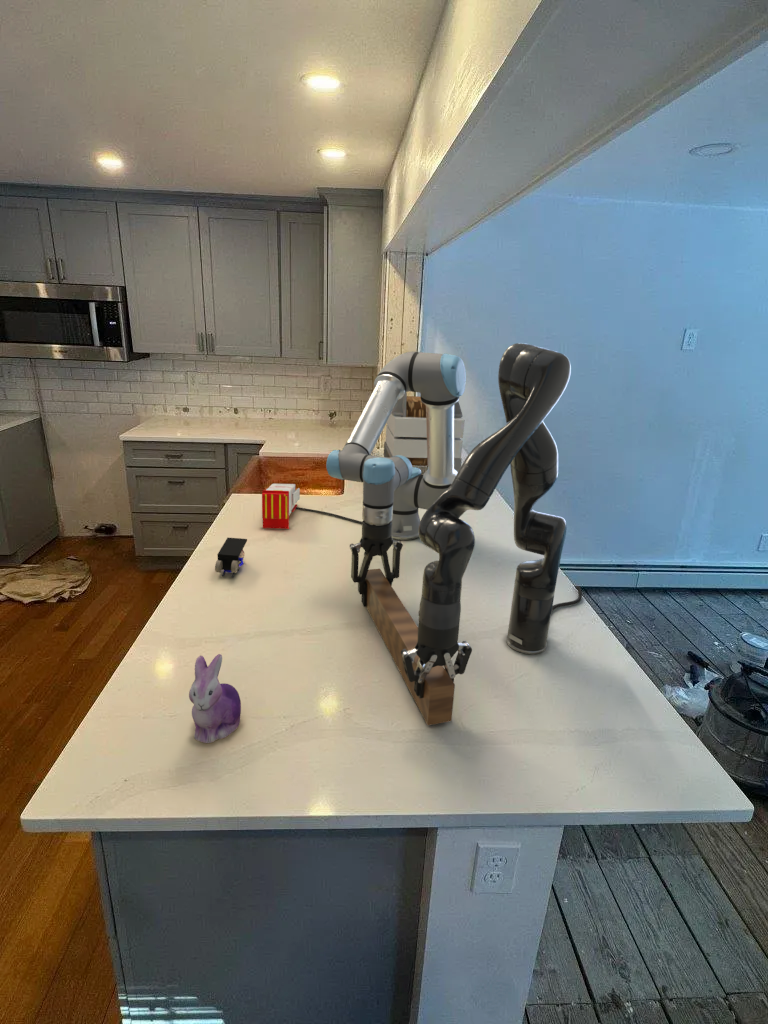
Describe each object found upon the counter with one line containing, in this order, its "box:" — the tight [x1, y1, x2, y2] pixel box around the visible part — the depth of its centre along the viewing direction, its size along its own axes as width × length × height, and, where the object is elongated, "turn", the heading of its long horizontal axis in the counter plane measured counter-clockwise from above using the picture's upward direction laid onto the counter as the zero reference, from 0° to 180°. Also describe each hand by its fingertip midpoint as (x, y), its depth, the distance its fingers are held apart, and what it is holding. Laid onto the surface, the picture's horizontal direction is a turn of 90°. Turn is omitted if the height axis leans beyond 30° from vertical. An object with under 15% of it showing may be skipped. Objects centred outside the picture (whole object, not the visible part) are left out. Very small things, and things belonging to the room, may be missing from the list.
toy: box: [261, 483, 301, 530], centre depth 210 cm, size 12×13×30 cm
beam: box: [365, 568, 456, 726], centre depth 129 cm, size 50×5×8 cm, turn 17°
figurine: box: [188, 653, 242, 744], centre depth 103 cm, size 9×10×15 cm
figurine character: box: [214, 537, 248, 578], centre depth 166 cm, size 7×8×15 cm
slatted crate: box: [383, 392, 465, 472], centre depth 268 cm, size 34×33×41 cm
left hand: (374, 602), depth 149 cm, fingers closed on beam, 5 cm apart
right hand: (433, 693), depth 110 cm, fingers closed on beam, 5 cm apart
